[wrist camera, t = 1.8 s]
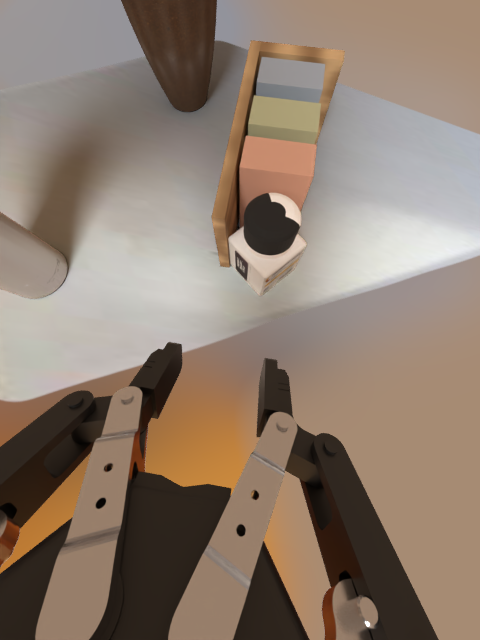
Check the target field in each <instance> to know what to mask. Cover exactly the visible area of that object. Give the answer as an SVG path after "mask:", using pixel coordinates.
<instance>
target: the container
mask: <svg viewBox="0 0 480 640" xmlns="http://www.w3.org/2000/svg"><path fill="white" fill-rule="evenodd" d="M300 225H301V213H300V210H299V208H298V206H297V205H296V204H295V203H294V202H293V201H292V200H291V199H290V198H289V197H287V196H285V195H283V194H279V193H265V194H262V195H260V196H257V197H256V198H254V199H253V200H252V201H250V203H249V204H248V205H247V207H246V209H245V212H244V226H243V227H242V228H240V229H239V230H238V231H236V232H235V233H234V234H232V235H231V236H230V237H229V238H228V242H229V253H230V264H231V266H232V267H233V268H234V269H235V270H236V271H237V272H238V273H239V274H240V275H241V277H242V278H243V279H244V280H245V281H246V282H247V283H248V284H249V285H250V286H251V287H252V289H253V290H254V291H255V292H256V293H257V294H258V295H259V296H262V295H264V294H265V293H266V292H267V291H269V290H270V289H271V288H272V287H273V286H275V285H276V284H277V283H278V282H280V281H281V280H282V279H283V278H284V277H286V276H287V275H288V274H289V273H291V272H292V271H293V270H294V269H295V267H296V265H297V263H298V261H299V259H300V257H301V255H302V254H303V252H304V250H305V248H306V246H307V243H306V241H305V240H304V239H303V238H301V237H300V236H299V235H298V234H297V233H298V230H299V228H300Z"/></svg>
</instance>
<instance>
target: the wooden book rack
mask: <svg viewBox="0 0 480 640" xmlns="http://www.w3.org/2000/svg"><path fill="white" fill-rule="evenodd" d="M344 52H345V51H341V50H332V49H324V48H315V47H306V46H297V45H288V44H279V43H270V42H261V41H251V43H250V48H249V52H248V56H247V61H246V65H245V70H244V74H243V79H242V83H241V88H240V92H239V97H238V101H237V106H236V110H235V115H234V119H233V124H232V128H231V133H230V137H229V142H228V146H227V151H226V155H225V159H224V164H223V168H222V173H221V177H220V182H219V186H218V191H217V195H216V200H215V204H214V209H213V213H212V222H213V228H214V233H215V238H216V244H217V249H218V255H219V260H220V266H223V267H230V253H229V242H228V238H229V237H230V236H231V235H232V234H234V233H235V232H236V230H237V225H238V220H239V215H240V163H241V158H242V153H243V148H244V143H245V138H246V136H248V123H249V118H250V113H251V108H252V103H253V98H254V95H255V96H256V86H257V78H258V73H259V68H260V63H261V58H262V57H268V58H277V59H286V60H295V61H303V62H312V63H321V64H325V72H324V82H323V90H322V94H321V97H320V100H319V103H321V109H320V119H319V128H318V134H317V137H316V140H315V143H314V144H316V143H317V140H318V137H319V134H320V131H321V128H322V125H323V122H324V119H325V116H326V113H327V110H328V107H329V104H330V101H331V98H332V95H333V92H334V89H335V86H336V83H337V80H338V76H339V73H340V70H341V67H342V64H343V61H344Z"/></svg>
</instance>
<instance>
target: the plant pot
mask: <svg viewBox="0 0 480 640" xmlns="http://www.w3.org/2000/svg"><path fill="white" fill-rule="evenodd" d="M121 1H122V4H123V6H124V9H125V11H126V13H127V16H128V18H129V21H130V23H131V25H132V27H133V30H134V32H135V34H136V36H137V38H138V41H139V43H140V45H141V47H142V49H143V51H144V54H145V56H146V58H147V60H148V62H149V64H150V66H151V68H152V70H153V72H154V74H155V76H156V78H157V79H158V81H159V83H160V85H161V87H162V89H163V90H164V92H165V94H166V96H167V97H168V99H169V101H170V102H171V104H172V105H173V106H174V107H175V108H176V109H178V110H180V111H184V112H191V111H195V110H198V109H199V108H201V107H202V106H203V105H204V104H205V102H206V98H207V93H208V87H209V82H210V75H211V68H212V60H213V50H214V40H215V26H216V7H217V6H216V5H217V0H121Z"/></svg>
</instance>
